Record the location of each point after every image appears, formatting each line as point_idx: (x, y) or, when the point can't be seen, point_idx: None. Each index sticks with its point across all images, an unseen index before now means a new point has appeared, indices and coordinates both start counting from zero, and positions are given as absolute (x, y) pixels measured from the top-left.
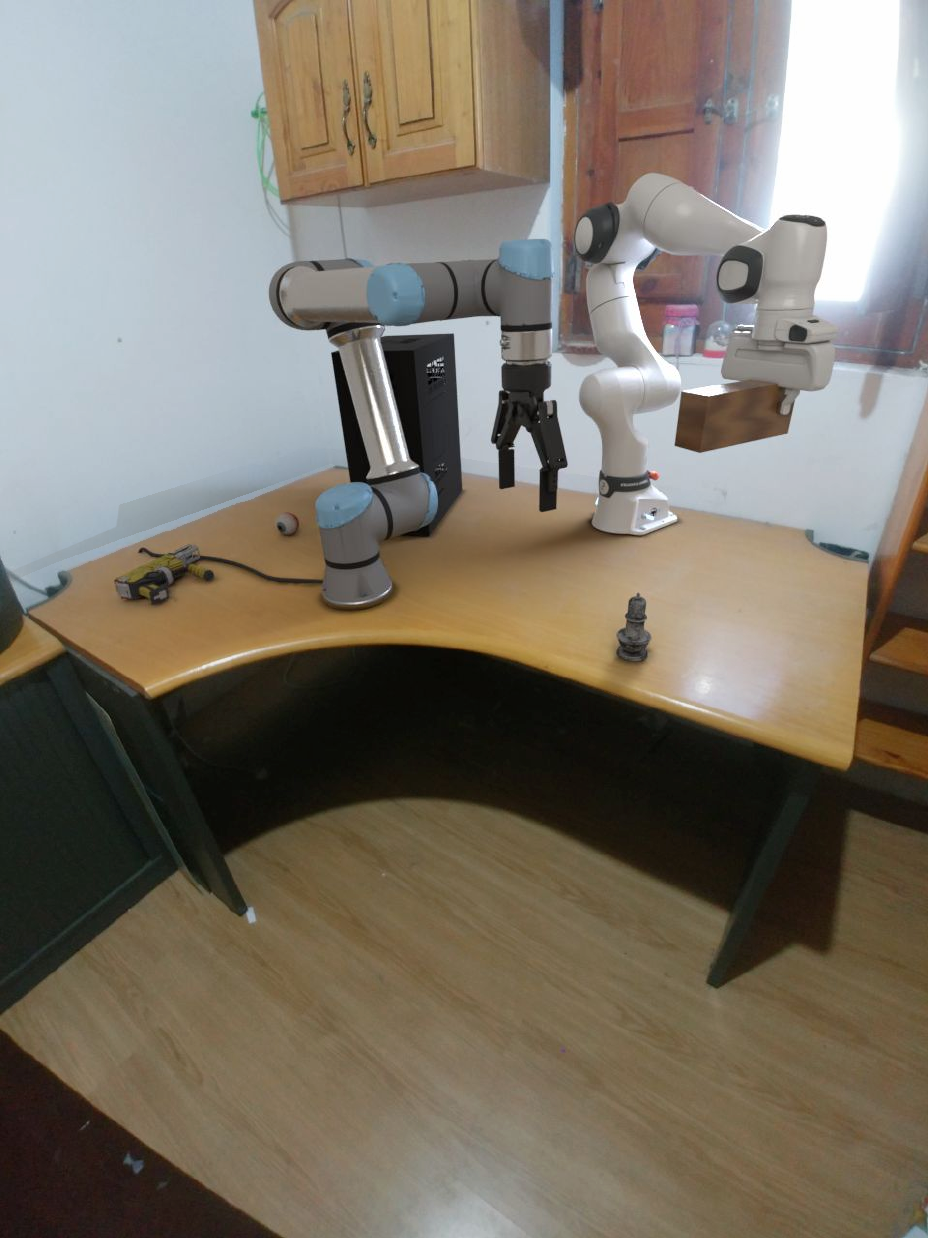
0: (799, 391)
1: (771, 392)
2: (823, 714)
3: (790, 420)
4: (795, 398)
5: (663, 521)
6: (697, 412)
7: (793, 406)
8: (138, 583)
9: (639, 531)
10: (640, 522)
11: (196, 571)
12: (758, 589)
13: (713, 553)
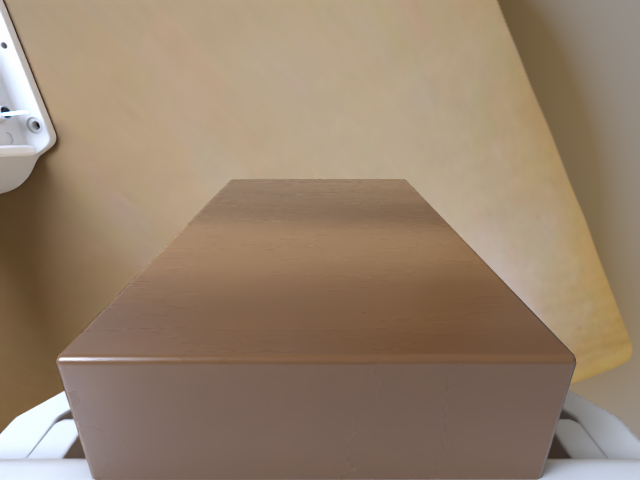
0: (635, 443)
1: None
2: (597, 322)
3: (422, 197)
4: (567, 394)
5: (2, 42)
6: None
7: (451, 229)
8: None
9: (47, 143)
10: (13, 123)
11: None
12: (367, 135)
13: (203, 75)
